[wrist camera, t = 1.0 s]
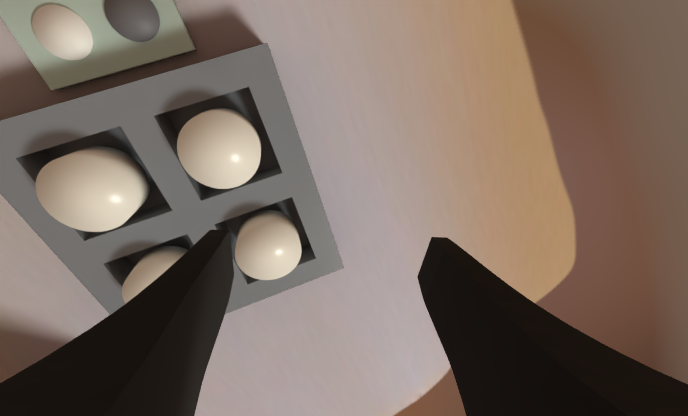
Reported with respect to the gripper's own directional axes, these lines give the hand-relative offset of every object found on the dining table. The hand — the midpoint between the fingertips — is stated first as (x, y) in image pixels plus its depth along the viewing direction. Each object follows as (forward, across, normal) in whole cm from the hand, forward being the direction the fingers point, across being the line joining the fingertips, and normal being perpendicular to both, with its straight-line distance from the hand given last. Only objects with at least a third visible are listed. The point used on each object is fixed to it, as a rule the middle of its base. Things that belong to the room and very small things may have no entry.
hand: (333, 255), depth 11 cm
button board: (+13, +9, +6) cm, 17 cm away
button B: (+11, +14, +4) cm, 18 cm away
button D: (+10, +11, +11) cm, 18 cm away
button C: (+11, +4, +8) cm, 15 cm away
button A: (+12, +7, +1) cm, 14 cm away
